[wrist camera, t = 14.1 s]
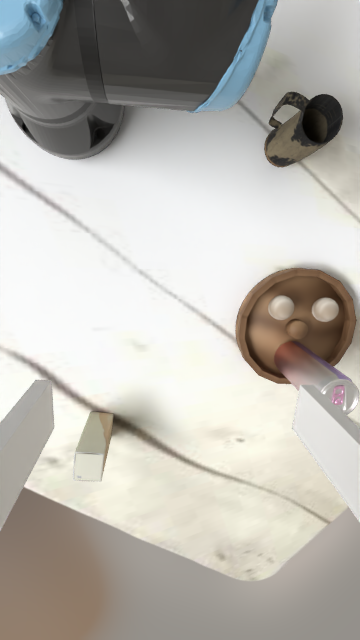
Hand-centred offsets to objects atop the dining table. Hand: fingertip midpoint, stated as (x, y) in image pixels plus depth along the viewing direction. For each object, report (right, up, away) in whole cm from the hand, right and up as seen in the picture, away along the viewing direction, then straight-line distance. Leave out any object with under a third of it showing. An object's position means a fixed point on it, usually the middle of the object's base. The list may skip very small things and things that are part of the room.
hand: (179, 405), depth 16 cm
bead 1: (+16, +7, +35) cm, 39 cm away
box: (-14, -14, +39) cm, 44 cm away
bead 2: (+24, +7, +35) cm, 43 cm away
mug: (+14, +31, +29) cm, 45 cm away
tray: (+20, +4, +37) cm, 42 cm away
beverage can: (+19, -2, +37) cm, 42 cm away
